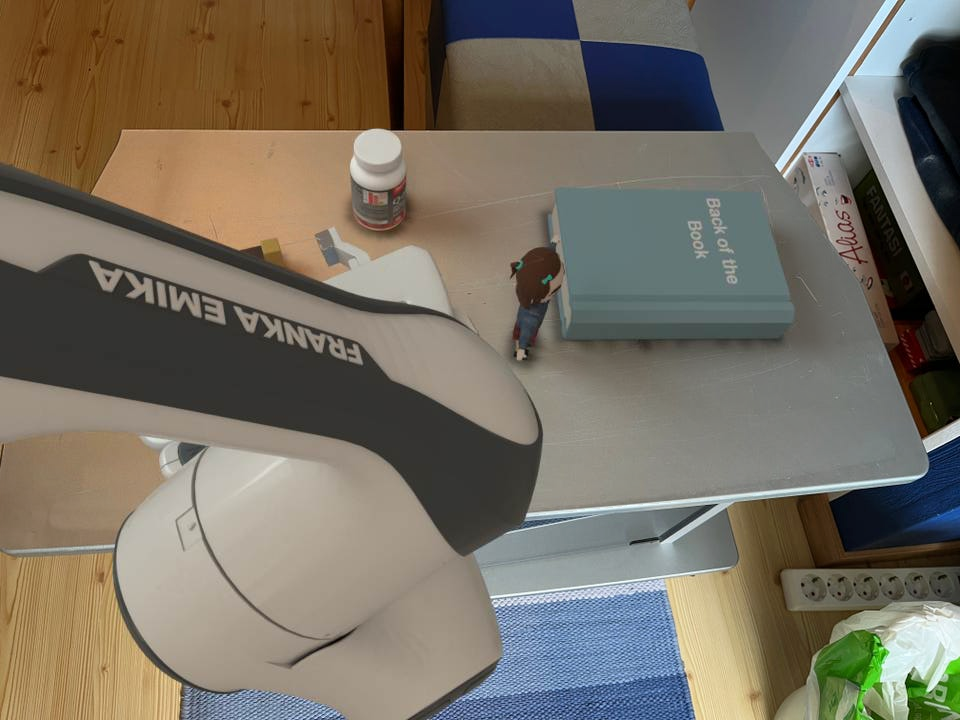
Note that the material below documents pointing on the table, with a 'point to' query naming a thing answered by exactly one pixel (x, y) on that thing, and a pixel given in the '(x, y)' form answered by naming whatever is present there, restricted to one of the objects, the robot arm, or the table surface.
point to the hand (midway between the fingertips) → (260, 263)
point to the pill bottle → (378, 180)
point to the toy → (535, 292)
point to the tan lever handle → (272, 251)
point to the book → (668, 265)
